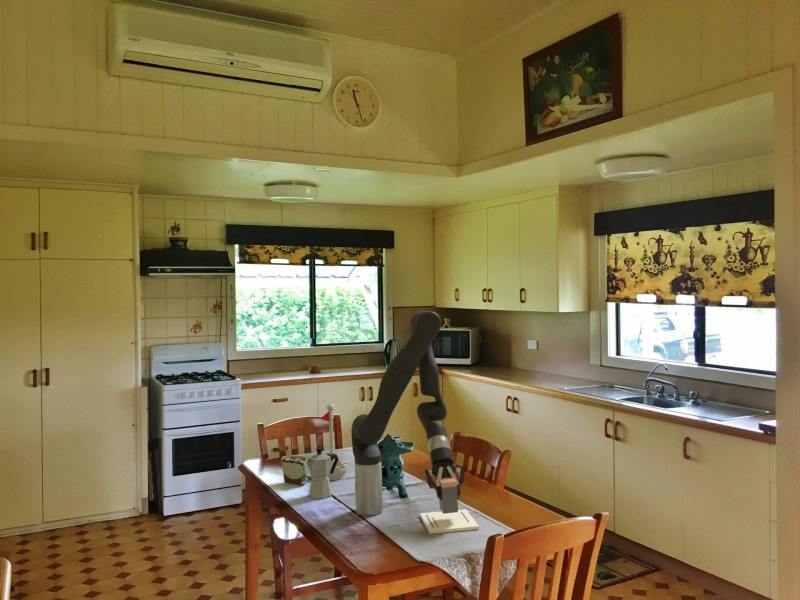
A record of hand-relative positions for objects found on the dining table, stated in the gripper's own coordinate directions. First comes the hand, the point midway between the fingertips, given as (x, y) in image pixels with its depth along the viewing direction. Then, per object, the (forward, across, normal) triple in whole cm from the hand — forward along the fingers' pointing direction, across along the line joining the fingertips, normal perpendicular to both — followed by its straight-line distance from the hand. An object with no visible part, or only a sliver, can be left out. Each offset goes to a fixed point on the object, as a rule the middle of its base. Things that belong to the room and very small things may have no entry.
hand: (449, 498), depth 216 cm
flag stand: (-39, -34, +51) cm, 73 cm away
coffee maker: (-23, -39, +35) cm, 57 cm away
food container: (-35, -48, +48) cm, 77 cm away
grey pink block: (+2, 0, +5) cm, 5 cm away
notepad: (+5, 0, +7) cm, 9 cm away
